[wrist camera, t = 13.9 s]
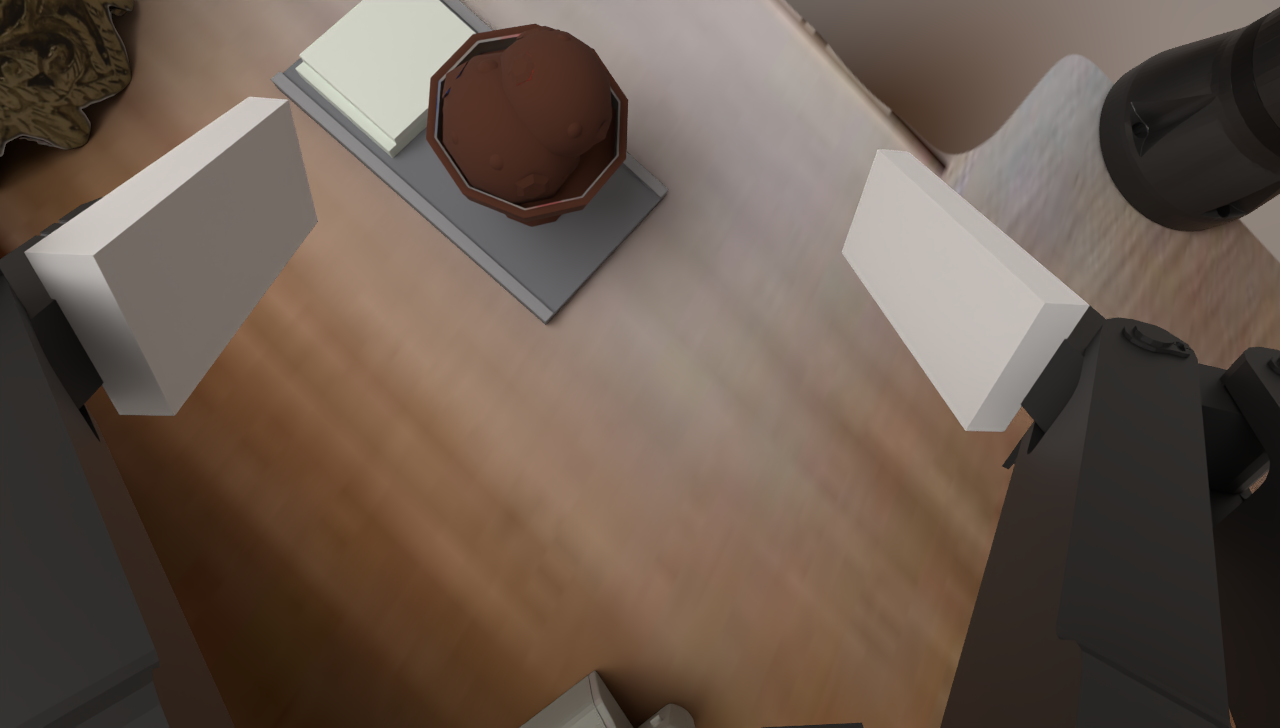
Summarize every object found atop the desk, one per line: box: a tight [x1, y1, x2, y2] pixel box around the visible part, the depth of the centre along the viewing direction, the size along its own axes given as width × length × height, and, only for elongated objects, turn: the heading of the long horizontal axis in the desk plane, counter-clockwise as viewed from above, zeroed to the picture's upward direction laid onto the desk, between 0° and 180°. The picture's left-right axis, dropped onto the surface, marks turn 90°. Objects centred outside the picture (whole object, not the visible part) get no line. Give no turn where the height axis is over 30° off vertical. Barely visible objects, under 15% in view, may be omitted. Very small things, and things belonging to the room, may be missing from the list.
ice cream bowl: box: [426, 24, 628, 227], centre depth 35 cm, size 11×11×15 cm
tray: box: [271, 0, 668, 325], centre depth 42 cm, size 24×13×1 cm, turn 49°
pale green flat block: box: [295, 0, 476, 158], centre depth 41 cm, size 8×10×2 cm
